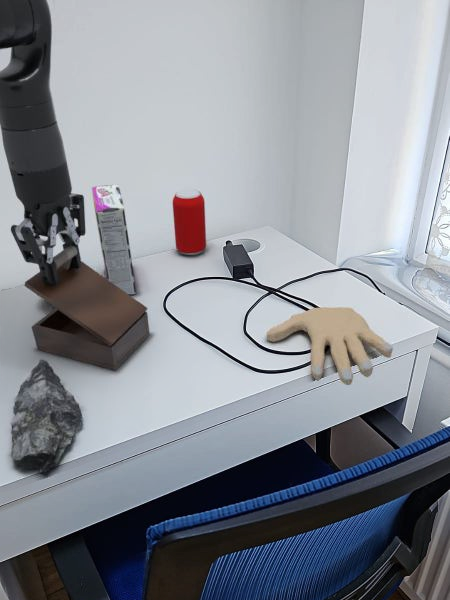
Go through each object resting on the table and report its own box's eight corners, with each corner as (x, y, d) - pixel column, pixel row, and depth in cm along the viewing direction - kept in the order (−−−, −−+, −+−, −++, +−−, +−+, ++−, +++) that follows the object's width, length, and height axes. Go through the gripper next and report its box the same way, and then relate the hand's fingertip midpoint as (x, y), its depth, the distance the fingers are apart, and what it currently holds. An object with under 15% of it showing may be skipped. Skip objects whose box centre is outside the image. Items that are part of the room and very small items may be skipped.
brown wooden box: (37, 349, 93) (31, 326, 90) (76, 316, 100) (71, 294, 97) (115, 370, 88) (111, 347, 85) (149, 334, 95) (147, 312, 93)
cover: (24, 285, 85) (30, 260, 81) (66, 255, 92) (74, 231, 89) (110, 346, 85) (120, 324, 82) (146, 311, 93) (156, 289, 89)
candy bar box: (104, 270, 113) (90, 186, 102) (130, 267, 114) (119, 183, 103) (109, 299, 104) (94, 210, 94) (137, 295, 105) (125, 206, 95)
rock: (6, 352, 84) (14, 375, 87) (3, 459, 68) (13, 483, 71) (70, 340, 86) (76, 364, 89) (82, 442, 70) (89, 467, 73)
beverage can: (212, 251, 118) (210, 192, 111) (188, 260, 115) (184, 201, 108) (194, 241, 122) (191, 184, 114) (170, 250, 119) (165, 192, 111)
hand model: (381, 302, 97) (399, 359, 80) (379, 327, 99) (395, 388, 82) (268, 303, 99) (262, 359, 82) (269, 328, 101) (263, 387, 85)
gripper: (47, 141, 83) (70, 252, 94) (-23, 174, 73) (12, 293, 84) (91, 146, 81) (110, 259, 92) (25, 181, 71) (55, 302, 82)
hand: (63, 275), depth 88 cm, fingers closed on cover, 5 cm apart
